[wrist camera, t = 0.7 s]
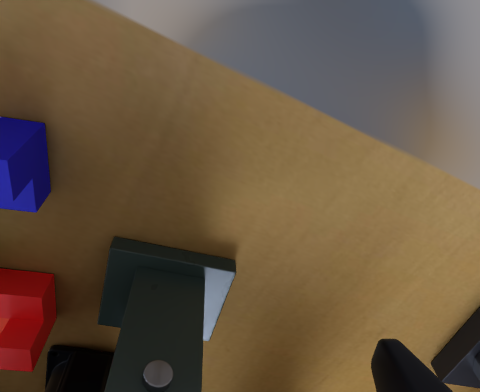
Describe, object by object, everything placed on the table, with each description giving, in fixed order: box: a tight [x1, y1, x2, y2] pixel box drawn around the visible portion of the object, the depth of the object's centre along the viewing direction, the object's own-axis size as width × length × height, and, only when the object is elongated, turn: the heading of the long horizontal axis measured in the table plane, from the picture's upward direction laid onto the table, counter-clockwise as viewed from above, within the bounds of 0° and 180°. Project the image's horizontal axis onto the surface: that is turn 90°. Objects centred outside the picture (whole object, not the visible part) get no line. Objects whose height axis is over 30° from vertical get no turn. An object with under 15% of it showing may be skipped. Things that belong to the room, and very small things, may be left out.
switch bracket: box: [98, 237, 236, 392], centre depth 22 cm, size 8×7×10 cm
